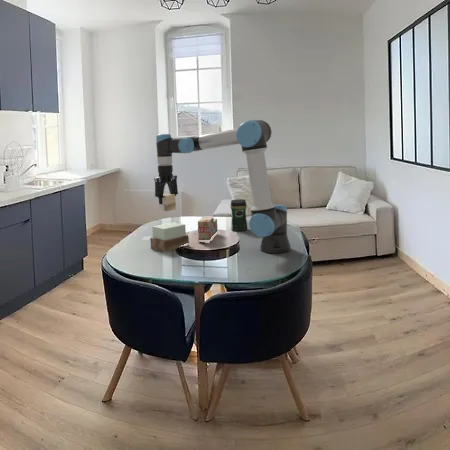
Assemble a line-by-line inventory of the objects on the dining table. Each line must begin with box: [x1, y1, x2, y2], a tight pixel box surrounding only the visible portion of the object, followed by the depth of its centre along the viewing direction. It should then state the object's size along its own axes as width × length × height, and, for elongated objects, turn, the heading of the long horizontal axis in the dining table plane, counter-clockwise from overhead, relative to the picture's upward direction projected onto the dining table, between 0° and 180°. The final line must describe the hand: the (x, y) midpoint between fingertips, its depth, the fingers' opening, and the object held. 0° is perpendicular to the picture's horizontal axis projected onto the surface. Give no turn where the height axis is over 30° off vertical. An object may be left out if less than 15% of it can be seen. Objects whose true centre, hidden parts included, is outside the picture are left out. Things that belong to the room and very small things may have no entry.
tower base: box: [149, 234, 190, 253], centre depth 264 cm, size 12×16×6 cm
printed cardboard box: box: [197, 216, 219, 241], centre depth 280 cm, size 21×6×12 cm, turn 169°
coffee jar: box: [230, 198, 248, 232], centre depth 298 cm, size 10×8×19 cm
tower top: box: [151, 221, 187, 241], centre depth 263 cm, size 10×14×6 cm
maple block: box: [158, 193, 177, 212], centre depth 260 cm, size 6×6×8 cm
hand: (167, 209), depth 261 cm, fingers closed on maple block, 6 cm apart
